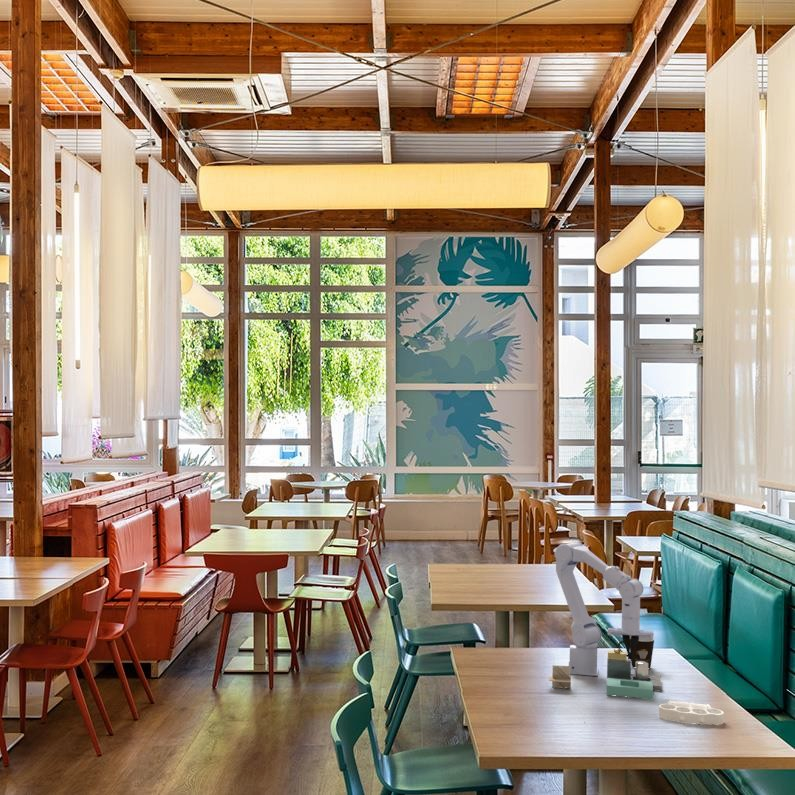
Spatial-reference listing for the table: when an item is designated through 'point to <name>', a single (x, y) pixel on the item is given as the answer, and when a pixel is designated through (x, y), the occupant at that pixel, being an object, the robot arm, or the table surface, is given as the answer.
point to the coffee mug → (642, 651)
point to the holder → (630, 688)
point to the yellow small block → (617, 655)
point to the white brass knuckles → (691, 713)
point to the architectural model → (561, 676)
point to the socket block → (628, 672)
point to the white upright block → (641, 671)
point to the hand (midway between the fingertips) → (630, 658)
